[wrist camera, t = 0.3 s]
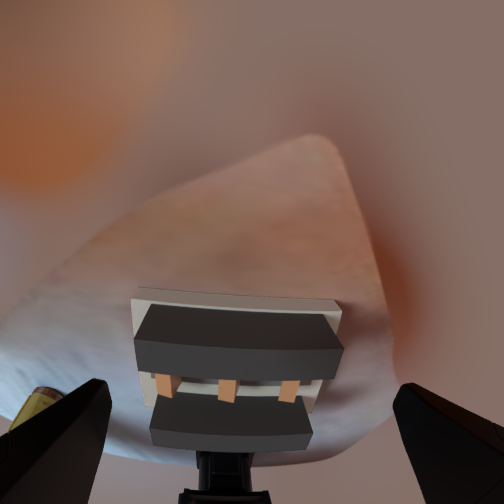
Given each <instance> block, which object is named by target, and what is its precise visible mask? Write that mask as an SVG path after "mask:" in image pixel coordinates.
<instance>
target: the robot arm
mask: <svg viewBox="0 0 504 504" xmlns="http://www.w3.org/2000/svg"><path fill="white" fill-rule="evenodd" d="M111 409H112V399H111V396H110V392H109V388H108V384H107V382H106V381H104V380H100V379H96V378H93V379H91V380H89V381H88V382H86V383H84V384H83V385H81V386H80V387H78V388H77V389H75V390H74V391H72V392H71V393H69V394H67V395H66V396H64V397H63V398H61V399H60V400H58V401H56V402H55V403H53V404H52V405H50V406H49V407H47V408H45V409H44V410H42V411H41V412H39V413H37V414H36V415H34V416H33V417H31V418H30V419H28V420H26V421H25V422H23V423H22V424H20V425H18V426H17V427H15V428H13V429H12V430H10V431H9V433H8V432H7V433H5V434H4V435H2V436H0V504H88V500H89V496H90V493H91V489H92V486H93V482H94V479H95V475H96V472H97V468H98V465H99V462H100V459H101V455H102V452H103V448H104V443H105V438H106V433H107V428H108V423H109V418H110V413H111ZM393 411H394V414H395V417H396V421H397V424H398V427H399V431H400V434H401V438H402V441H403V444H404V447H405V449H406V452H407V454H408V457H409V460H410V462H411V465H412V467H413V470H414V473H415V475H416V478H417V480H418V483H419V486H420V489H421V491H422V494H423V497H424V500H425V503H426V504H504V427H502V426H500V425H498V424H496V423H492V422H491V421H489V420H487V419H485V418H483V417H480V416H479V415H477V414H475V413H472V412H470V411H468V410H466V409H464V408H462V407H460V406H458V405H456V404H454V403H452V402H450V401H448V400H446V399H444V398H442V397H440V396H438V395H437V394H435V393H433V392H430V391H429V390H427V389H425V388H423V387H421V386H419V385H417V384H415V383H406V384H403V385H402V386H401V387H400V389H399V391H398V393H397V395H396V397H395V399H394V401H393ZM253 455H254V452H212V451H197V450H196V460H197V468H198V469H199V487H198V488H199V489H198V490H190V489H186V488H185V489H184V492H183V493H181V494H179V500H178V504H272V503H271V499H270V496H269V492H268V491H267V490H266V491H261V492H252V483H251V473H250V468H251V464H252V459H253Z"/></svg>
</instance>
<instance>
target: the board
mask: <svg viewBox="0 0 504 504" xmlns="http://www.w3.org/2000/svg"><path fill="white" fill-rule="evenodd" d="M151 303H152V304H161V305H172V306H183V307H194V308H207V309H221V310H236V311H254V312H276V313H309V314H323V315H324V316H325V318H326V320H327V321H328V323H329V325H330V326H331V328H332V329H333V331H334V333H335V334H337V330H338V327H339V323H340V319H341V315H342V310H341V309H340V307H339V306H338V305H337V303H336V302H335V301H334V300H328V299H299V298H276V297H257V296H240V295H225V294H211V293H198V292H186V291H175V290H164V289H153V288H143V287H138V288H137V290H136V291H135V293H134V294H133V296H132V297H131V309H132V320H133V330H134V337H135V335H136V333H137V331H138V329H139V327H140V325H141V323H142V321H143V319H144V317H145V315H146V313H147V311H148V309H149V307H150V305H151ZM139 374H140V380H141V386H142V392H143V397H144V402H145V407H151V408H154V406H155V402H156V398H157V387H156V379H155V373H148V372H141V371H139ZM322 381H323V380H303V381H300V383H299V387H298V391H297V394H296V396H297V395H302V399H303V402H304V405H305V408H306V411H307V414H308V413H312V410H313V407H314V404H315V401H316V398H317V396H318V393H319V390H320V387H321V384H322ZM281 382H282V381H240V386H239V389H238V392H237V395H236V396H279V393H280V387H281ZM218 385H219V379H204V378H192V377H182V383H181V385H180V386H179V388H178V390H177V392H187V393H198V394H212V395H218Z"/></svg>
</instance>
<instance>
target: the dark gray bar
mask: <svg viewBox="0 0 504 504" xmlns="http://www.w3.org/2000/svg"><path fill="white" fill-rule="evenodd" d="M134 346H135V353H136V360H137V367H138V371H141V372H148V373H155V374H163V375H172V376H181V377H192V378H204V379H219V380H240V381H303V380H324V379H334V378H335V375H336V372H337V369H338V366H339V363H340V360H341V357H342V354H343V350H344V348H343V346H342V345H341V343H340V341H339V339H338V338H337V336H336V334H335V333H334V331H333V329H332V328H331V326H330V325H329V323H328V321H327V320H326V318H325V316H324V315H323V314H309V313H276V312H254V311H236V310H221V309H207V308H194V307H183V306H172V305H161V304H152V303H151V305H150V307H149V309H148V311H147V313H146V315H145V317H144V319H143V321H142V323H141V325H140V327H139V329H138V331H137V333H136V335H135V337H134Z"/></svg>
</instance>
